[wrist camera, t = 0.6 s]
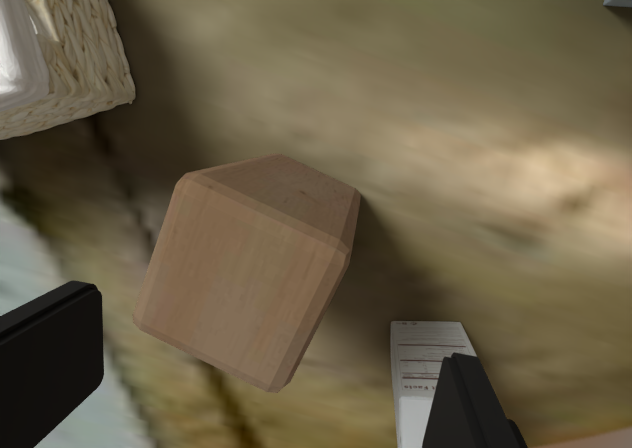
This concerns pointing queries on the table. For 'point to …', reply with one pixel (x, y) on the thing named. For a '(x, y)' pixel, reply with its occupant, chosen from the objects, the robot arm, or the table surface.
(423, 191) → the table surface
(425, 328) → the supplement box
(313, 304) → the wooden block
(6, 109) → the storage basket
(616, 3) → the grey rectangular block
